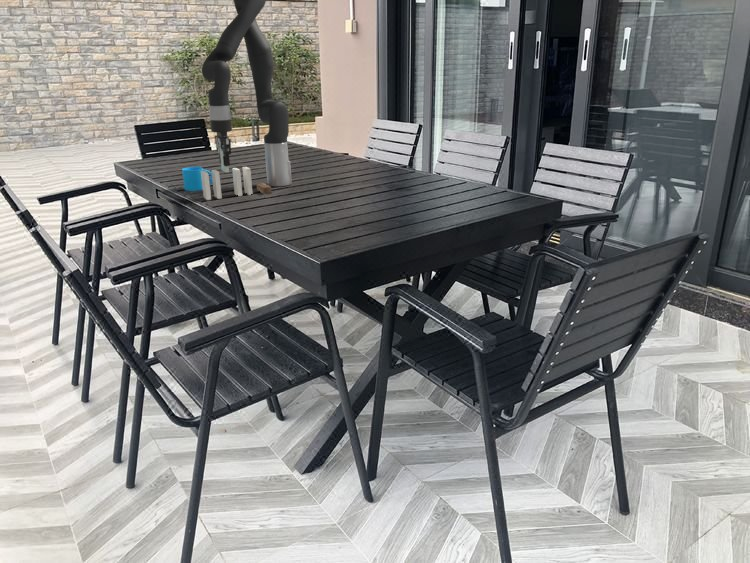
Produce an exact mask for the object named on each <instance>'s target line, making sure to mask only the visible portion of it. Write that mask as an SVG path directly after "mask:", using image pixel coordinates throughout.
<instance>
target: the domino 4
mask: <svg viewBox="0 0 750 563" xmlns="http://www.w3.org/2000/svg"><path fill="white" fill-rule="evenodd" d="M231 170H232V180H233V190H234V195H236V196H237V195H238V197H242V196H243V186H242V176H241V169H239V168H237V167H232V169H231Z"/></svg>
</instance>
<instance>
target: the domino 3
mask: <svg viewBox="0 0 750 563" xmlns="http://www.w3.org/2000/svg"><path fill="white" fill-rule="evenodd" d="M222 147H223V145H222ZM226 151H227V149H226ZM220 159H221V164H220V167H221V171H222V172H223V173H230V166H224V163H223V155H222V150H220Z"/></svg>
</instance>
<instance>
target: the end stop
mask: <svg viewBox="0 0 750 563" xmlns="http://www.w3.org/2000/svg"><path fill="white" fill-rule="evenodd" d="M255 185H256V191H258V192H259V191H260V193H261V194H263V195H269V194H272V186H269V185H268V184H266V183H264V182H262V183H261V182H260V183H256V184H255Z"/></svg>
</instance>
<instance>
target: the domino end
mask: <svg viewBox="0 0 750 563" xmlns="http://www.w3.org/2000/svg"><path fill="white" fill-rule="evenodd" d="M251 171H252V170H251V168H250V167H248V166H242V175H243V176H242V178H243V188H244V189H243V190H244V193H245V194H246V193H247V194H246V195H248V196H251V194H254V193H253V182H252V172H251Z"/></svg>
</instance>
